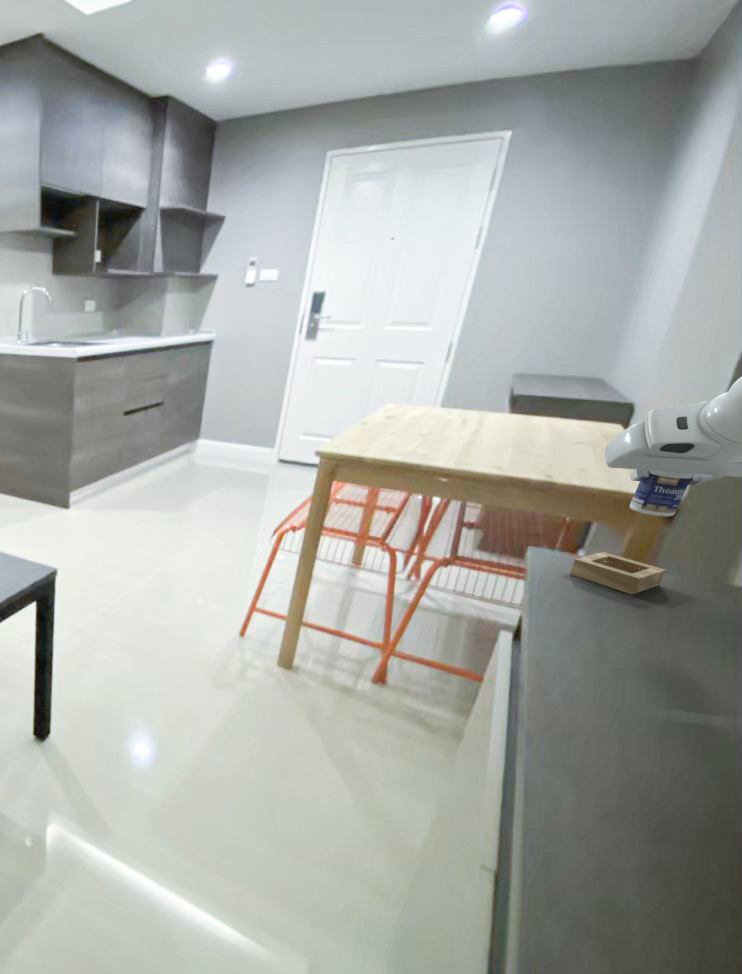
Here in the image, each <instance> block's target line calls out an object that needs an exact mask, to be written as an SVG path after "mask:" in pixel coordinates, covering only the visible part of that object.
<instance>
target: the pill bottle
mask: <svg viewBox="0 0 742 974" xmlns="http://www.w3.org/2000/svg"><path fill="white" fill-rule="evenodd" d="M648 473H649V476H650V477H649V478H648V479H645V481H639V483H638V485H637V487H636V490H635V492H634V493H633V497H632V499H631V500H630V501H631V502H630V504H629V508H630V510H632V511H634V512H637V513H641V514H645V515H650V516H658V517H672V516H674V515H675V514H676V512H677V510H678V509H679V506H680V504H681V502H682V499H683V497H684V495H685V493H686V491H687V489H688V487H689V485H688V484H689V482H690V480H691V478H692V475H693V474H691V473H677V472H664V471H650V470H649V472H648Z"/></svg>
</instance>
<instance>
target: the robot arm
mask: <svg viewBox="0 0 742 974" xmlns="http://www.w3.org/2000/svg"><path fill="white" fill-rule="evenodd" d="M604 460H605V464H606V465H607V467H609V468H612V469H623V470H631V471H630V481H631V482H640V481H645V479H648V478H649V477H650V476H649V473H648V472H649V470H650V471H664V472H677V473H691V474H693V475H692V478H691V480H690V482H689V484H688V486H694V487H698V486H700V485H702V484H704V483H705V482H711V481H713V480H717V479H718V480H719V479H722V478H724V477H731V478H732V477H733V478H735V477H736V478H742V376H740V377H739V378H738V379H737V380H735V382H733V383H732V384H731V386H730V387H729V389H728V391H726V392H725V393H722V394H719V395H718V396H715V398H713V399H712V400H711V399H710V400H704V401H699V402H695V403H689V404H682V405H675V406H664V407H657V408H653V409H651V410H649V411H647V413H646V414H645V417H644V421H643V420H642V421H640V422H636V423H634V424H632V425H630V426H628V427H627V428H625V429H624V430H623V431H621V432H620V433H619V434H618V435H617V436H615V437H614V438H613V439H612V440H610V441H609V442H608V443H607V444H606V446H605V447H604Z"/></svg>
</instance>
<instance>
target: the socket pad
mask: <svg viewBox="0 0 742 974" xmlns="http://www.w3.org/2000/svg"><path fill="white" fill-rule="evenodd" d="M604 561H609V562H604ZM611 562H612V563H611ZM619 565H620V566H619ZM639 568H640V569H639ZM642 569H643V570H642ZM644 569H646V570H644ZM666 573H667V569H664V568H661V567H657V566H654V565H651V564H647V563H643V562H640V561H637V560H634V559H630V558H625V557H622V556H619V555H615V554H612V553H609V552H605V551H601V552H597V553H594V554H589V555H586V556H581V557H579V558H575V559H574V560H573V564H572V567H571V569H570V572H569V575H570V576H572V577H573V576H574V577H576V578H580V579H583V580H586V581H589V582H592V583H595V584H598V585H602V586H604V587H607V588H610V589H614V590H617V591H619V592H622V593H626V594H629V595H634V594H639V593H640V592H644V591H647V590H650V589H653V588H655V587H659V586H660V585H661V583H662V581H663V579H664V577H665V574H666ZM656 584H658V585H656ZM653 585H655V586H653ZM650 586H652V587H650Z"/></svg>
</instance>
